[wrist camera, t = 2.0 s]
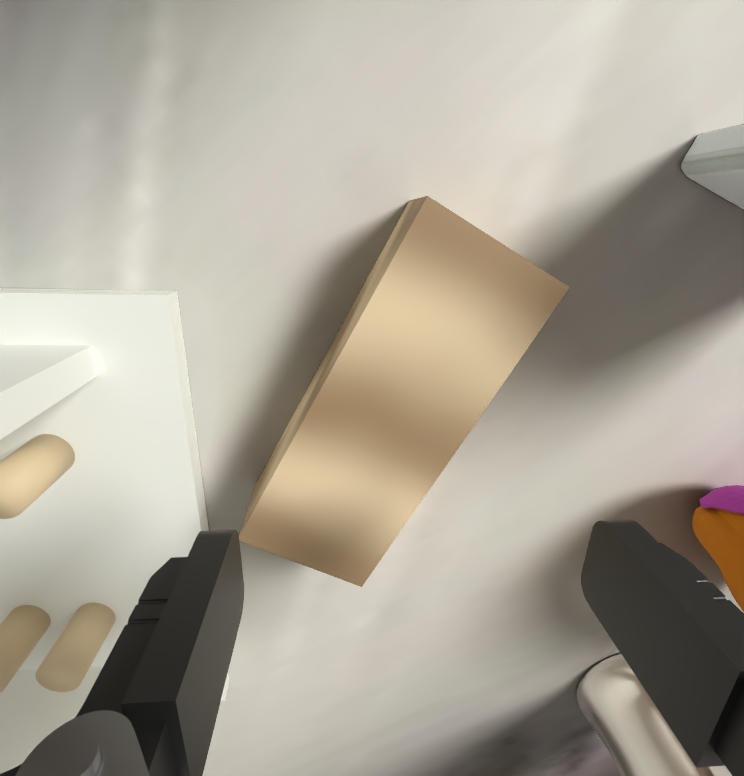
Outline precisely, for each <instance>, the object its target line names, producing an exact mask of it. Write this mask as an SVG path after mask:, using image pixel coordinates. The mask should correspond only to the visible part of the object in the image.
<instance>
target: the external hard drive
mask: <svg viewBox="0 0 744 776" xmlns="http://www.w3.org/2000/svg"><path fill="white" fill-rule="evenodd" d="M681 169H682V171H683V172H684V174H685V175H686V176H687V177H688V178H690V179H692V180H693V181H695V182H697V183H698V184H700V185H702V186H704V187H705V188H707V189H708V190H710V191H712V192H714V193H716V194H717V195H719V196H721V197H722V198H724V199H726V200H727V201H729V202H731V203H733V204H735V205H737V206H738V207H740V208H742V209H743V210H744V124H741V125H736V126H732V127H727V128H723V129H718V130H714V131H709V132H705V133H701V134H699V135H698V136H697V137H696V139H695V141H694V143H693V144H692V146H691V148H690V149H689V151H688V152H687V154H686V155H685V157H684V159H683V161H682V163H681Z"/></svg>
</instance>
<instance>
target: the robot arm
mask: <svg viewBox="0 0 744 776" xmlns="http://www.w3.org/2000/svg"><path fill="white" fill-rule="evenodd" d="M581 584H582V589H583V593H584V596H585V598H586V601H587V602H588V604H589V606H590V607H591V609H592V610H593V612H594V613H595V615H596V616H597V618H598V619H599V621H600V622H601V624H602V625H603V627H604V628H605V630H606V631H607V633H608V635H609V636H610V638H611V639H612V641H613V642H614V644H615V645H616V647H617V648H618V650H619V651H620V653H621V654H622V656H623V657H624V659H625V660H626V662H627V663H628V665H629V666H630V668H631V669H632V671H633V672H634V674H635V675H636V677H637V678H638V680H639V681H640V683H641V684H642V686H643V687H644V689H645V690H646V692H647V693H648V695H649V697H650V698H651V700H652V701H653V703H654V704H655V706H656V707H657V709H658V710H659V712H660V713H661V715H662V716H663V718H664V719H665V721H666V722H667V724H668V725H669V727H670V728H671V730H672V731H673V733H674V734H675V736H676V737H677V739H678V740H679V742H680V743H681V745H682V746H683V748H684V749H685V751H686V752H687V754H688V755H689V757H690V759H691V760H692V762H693V763H694V765H695V766H696V768H699V767H713V766H726V768H727V769H728V770H729V772H730V773H731V775H732V776H744V613H743V612H741V611H740V610H739V609H738V608H737V607H736V606H735V605H734V604H733V603H732V602H731V601H730V600H726V599H725V595H724V594H723V593H722V592H721V591H720V590H719V589H717V588H716V587H715V586H714V585H713V584H712V583H708V579H707V578H706V577H705V576H704V575H703V574H702V573H701V572H700V571H699V570H698V569H697V568H696V567H695V566H693V565H692V564H691V563H690V562H689V561H688V560H687V559H686V558H684V557H682V556H681V555H679V554H678V553H676V552H675V551H673V550H671V549H670V548H668V547H667V546H665V545H663V544H662V543H658V542H657V541H656V540H655V539H654V538H653V537H652V536H651V535H650V534H649V533H648V532H647V531H646V530H645V529H644V528H643V527H642V526H641V525H639V524H638V523H637V522H635V521H632V520H619V521H598V522H597V523H595V525H594V526H593V529H592V533H591V537H590V541H589V545H588V549H587V553H586V557H585V561H584V565H583V569H582V574H581ZM243 600H244V583H243V573H242V563H241V553H240V543H239V535H238V532H237V530H219V531H200V532H199V533H198V535H197V537H196V539H195V541H194V543H193V546H192V548H191V550H190V552H189V555H188V557H171V558H170V559H169V560H168V561H167V562H166V563H165V564H164V565H163V566H162V567H161V568H160V569H159V570H158V571H156V572H155V573H154V574H153V575H152V576H151V577H150V579H149V581H148V583H147V585H146V587H145V589H144V590H143V592H142V594H141V596H140V598H139V600H138V605H136V606H135V607H134V609H133V611H132V613H131V615H130V617H129V619H128V624H127V625H125V626H124V628H123V630H122V632H121V634H120V636H119V638H118V640H117V641H116V643H115V645H114V647H113V649H112V651H111V653H110V655H109V656H108V658H107V660H106V662H105V664H104V666H103V668H102V670H101V672H100V673H99V675H98V677H97V679H96V681H95V683H94V685H93V687H92V689H91V690H90V692H89V694H88V696H87V698H86V700H85V702H84V704H83V706H82V707H81V709H80V711H79V712H78V714H77V715H76V717H75V718H74V719H72V720H70V721H68V722H66V723H64V724H63V725H61V726H60V727H58V728H57V729H55V730H54V731H53V732H52V733H50V734H49V735H48V736H47V737H45V738H44V739H43V740H42V741H41V742H40V743H39V744H38V745H37V746H36V747H35V748H34V749H33V751H32V752H31V753H30V754H29V755H28V756H27V758H26V759H25V761H24V762H23V763H22V764H20V765H19V766H17V767H15V768H13V769H11V770H8V771H6V772H4V773H1V774H0V776H202V774H203V770H204V766H205V762H206V758H207V754H208V750H209V746H210V742H211V738H212V734H213V730H214V726H215V721H216V717H217V713H218V709H219V705H220V701H221V697H222V693H223V689H224V685H225V681H226V677H227V673H228V668H229V664H230V660H231V656H232V652H233V648H234V644H235V640H236V636H237V632H238V628H239V624H240V620H241V615H242V609H243Z"/></svg>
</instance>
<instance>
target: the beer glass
mask: <svg viewBox="0 0 744 776" xmlns="http://www.w3.org/2000/svg"><path fill="white" fill-rule="evenodd" d="M576 698H577V702H578V705H579V707H580V709H581V711H582V712H583V714H584V715H585V717H586V718H587V720H588V721H589V723H590V724H591V725H592V727H593V728H594V730H595V731H596V733H597V734H598V735H599V737H600V738H601V740H602V741H603V743H604V745H605V746H606V748H607V749H608V751H609V753H610V755H611V756H612V758H613V760H614V762H615V764H616V766H617V768H618V770H619V772H620V774H621V776H732V775H731V773H730V772H729V770H728V769H727V768H726V766H713V767H699V768H696V766H695V765H694V763H693V762H692V760H691V759H690V757H689V755H688V754H687V752H686V751H685V749H684V748H683V746H682V745H681V743H680V742H679V740H678V739H677V737H676V736H675V734H674V733H673V731H672V730H671V728H670V727H669V725H668V724H667V722H666V721H665V719H664V718H663V716H662V715H661V713H660V712H659V710H658V709H657V707H656V706H655V704H654V703H653V701H652V700H651V698H650V697H649V695H648V693H647V692H646V690H645V689H644V687H643V686H642V684H641V683H640V681H639V680H638V678H637V677H636V675H635V674H634V672H633V671H632V669H631V668H630V666H629V665H628V663H627V662H626V660H625V659H624V657H623V656H622V654H617V655H614V656H611V657H609V658H607V659H605V660H603V661H601V662H599V663H598V664H596V665H595V666H593V667H592V668H591V669H590V670H589V671H588V672H587V673H586V674H585V675H584V676H583V678H582V679H581V681H580V683H579V685H578V688H577V692H576Z"/></svg>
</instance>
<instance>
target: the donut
mask: <svg viewBox="0 0 744 776" xmlns="http://www.w3.org/2000/svg"><path fill="white" fill-rule="evenodd" d="M699 500H700V505H701V506H700V507H698V508H697V509H696V510H695V512H694V514H693V518H692V527H693V531H694V534H695V536H696V537H697V539H698V541H699V542H700V543H701V544H702V546H703V547H704V548H705V549H706V551H707V552H708V553H709V555H710V556H711V557H712V559H713V560H714V561H715V562H716V564H717V565H718V567H719V568H720V571H721V573H722V576H723V578H724V580H725V582H726V584H727V586H728V588H729V590H730V592H731V593H732V595H733V597H734V599H735V600H736V602H737V603H738V604H739V606H740V607H741V609H742V610H743V611H744V486H739V485H735V486H725V487H720V488H716V489H714V490H712V491H711V492H710V493H709V494H707V495H706V496H704V497H702V498H701V499H699Z"/></svg>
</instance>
